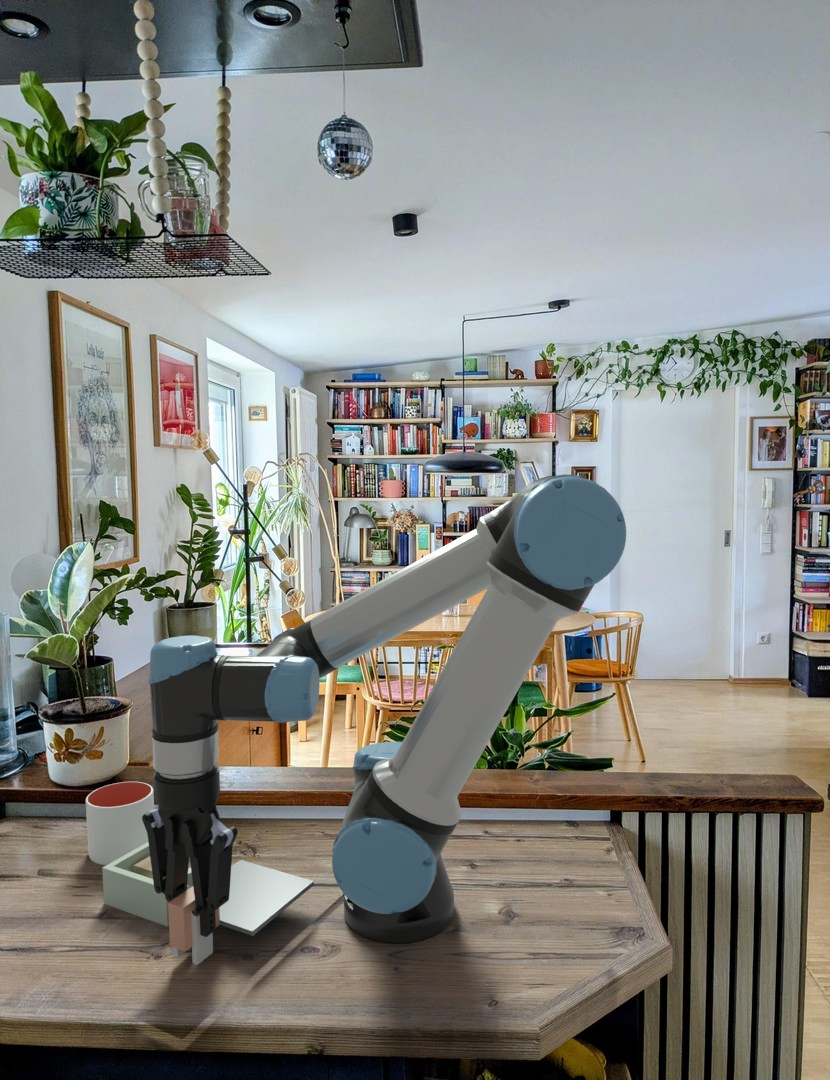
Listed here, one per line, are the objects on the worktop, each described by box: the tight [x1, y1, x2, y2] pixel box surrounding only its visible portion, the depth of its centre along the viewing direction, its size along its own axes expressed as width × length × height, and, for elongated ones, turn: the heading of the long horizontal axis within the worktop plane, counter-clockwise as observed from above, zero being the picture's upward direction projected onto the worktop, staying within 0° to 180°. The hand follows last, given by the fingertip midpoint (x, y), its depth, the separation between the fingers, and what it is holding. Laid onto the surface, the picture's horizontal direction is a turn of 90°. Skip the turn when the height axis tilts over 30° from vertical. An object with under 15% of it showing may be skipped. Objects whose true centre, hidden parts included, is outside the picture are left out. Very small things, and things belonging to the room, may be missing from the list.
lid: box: [168, 859, 315, 952], centre depth 98 cm, size 13×19×6 cm
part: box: [133, 856, 153, 879], centre depth 109 cm, size 4×4×4 cm
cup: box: [85, 781, 155, 866], centre depth 120 cm, size 10×10×10 cm
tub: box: [101, 842, 193, 928], centre depth 108 cm, size 12×12×6 cm
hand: (193, 953), depth 92 cm, fingers closed on lid, 2 cm apart
